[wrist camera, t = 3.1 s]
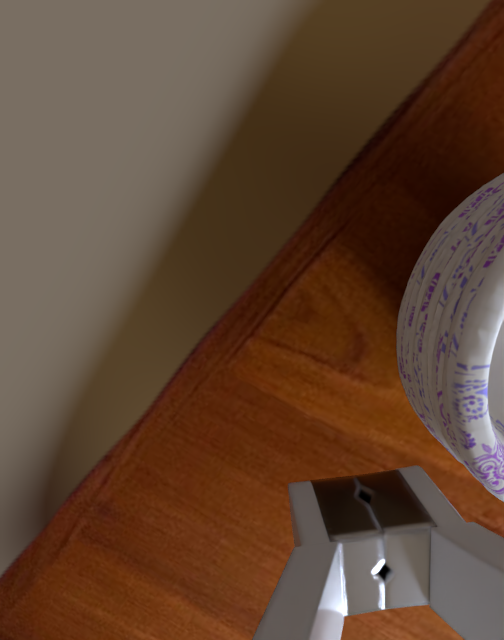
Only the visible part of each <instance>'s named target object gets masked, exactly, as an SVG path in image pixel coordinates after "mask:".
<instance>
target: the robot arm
mask: <svg viewBox="0 0 504 640" xmlns="http://www.w3.org/2000/svg"><path fill="white" fill-rule="evenodd" d="M288 493H289V503H290V512H291V521H292V529H293V537H294V544H295V547H294V549H293V551H292V553H291V555H290V557H289V560H288V562H287V564H286V566H285V568H284V571H283V573H282V575H281V577H280V579H279V582H278V584H277V586H276V588H275V590H274V593H273V595H272V597H271V599H270V601H269V604H268V606H267V608H266V610H265V612H264V615H263V617H262V619H261V621H260V623H259V626H258V628H257V630H256V632H255V634H254V637H253V639H252V640H340V638H341V633H342V628H343V623H344V617H345V616H350V615H356V614H361V613H367V612H372V611H378V610H384V609H392V608H401V607H410V606H419V605H428V604H430V608H431V609H432V610H434V611H435V612H436V613H437V614H438V615H439V616H440V617H441V618H442V619H443V620H444V621H445V622H446V623H448V624H449V625H450V626H451V627H452V628H453V629H454V630H455V631H456V632H457V633H458V634H459V635H460V636H462V637H463V638H464V639H465V640H504V538H503V537H501V536H499V535H497V534H495V533H493V532H491V531H490V530H488V529H486V528H484V527H482V526H480V525H478V524H476V523H475V522H470V523H466V522H465V521H464V519H463V518H462V517H461V516H460V515H459V513H458V512H457V511H456V510H455V508H454V507H453V506H452V505H451V503H450V502H449V501H448V500H447V498H446V497H445V496H444V495H443V494H442V492H441V491H440V490H439V489H438V487H437V486H436V485H435V484H434V482H433V481H432V480H431V479H430V477H429V476H428V475H427V474H426V473H425V471H424V470H423V469H422V468H421V467H419V466H411V467H405V468H398V469H395V470H388V471H381V472H375V473H368V474H361V475H354V476H345V477H336V478H327V479H318V480H310V481H304V482H295V483H288Z"/></svg>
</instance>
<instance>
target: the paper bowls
mask: <svg viewBox="0 0 504 640" xmlns="http://www.w3.org/2000/svg"><path fill="white" fill-rule="evenodd" d="M396 334H397V346H396V349H397V362H398V369H399V375H400V379H401V382H402V385H403V388H404V390H405V393H406V396H407V398H408V400H409V402H410V404H411V406H412V408H413V409H414V411H415V412H416V414H417V415H418V417H419V418H420V419H421V421H422V422H423V423H424V425H425V426H426V428H427V429H428V430H429V431H430V433H431V434H432V435H433V436H434V437H435V438H436V439H437V440H438V441H439V442H440V443H441V444H442V445H443V446H444V447H445V448H446V449H447V450H448V451H449V452H450V453H451V454H452V455H453V456H454V457H455V458H456V459H457V460H458V461H460V462H461V463H462V464H464V466H465V467H466V468H467V469H468V470H469V471H470V473H471V474H472V475H473V476H474V477H475V478H476V479H477V480H479V481H480V482H481V483H482V484H483V485H484V487H485V488H486V489H487V490H488V491H489V492H491V493H492V494H493V495H494V496H496V497H497V498H499V499H500V500H502V501H503V502H504V173H503V174H501V175H499V176H498V177H496V178H495V179H493V180H492V181H490V182H488V183H487V184H485V185H483V186H482V187H481V188H480V189H478V190H477V191H475V192H474V193H473V194H471V195H470V196H468V197H467V198H466V199H465V200H464V201H463V202H462V203H461V204H460V205H459V206H458V207H456V208H455V209H454V210H453V211H452V212H451V213H450V214H449V215H448V216H447V217H446V218H445V219H444V221H443V222H442V223H441V224H440V225H439V227H438V228H437V230H436V231H435V232H434V234H433V235H432V236H431V238H430V240H429V241H428V243H427V244H426V246H425V248H424V250H423V251H422V253H421V255H420V257H419V259H418V261H417V263H416V264H415V267H414V269H413V271H412V274H411V276H410V278H409V281H408V284H407V287H406V290H405V293H404V296H403V299H402V302H401V306H400V310H399V315H398V323H397V333H396Z"/></svg>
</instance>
